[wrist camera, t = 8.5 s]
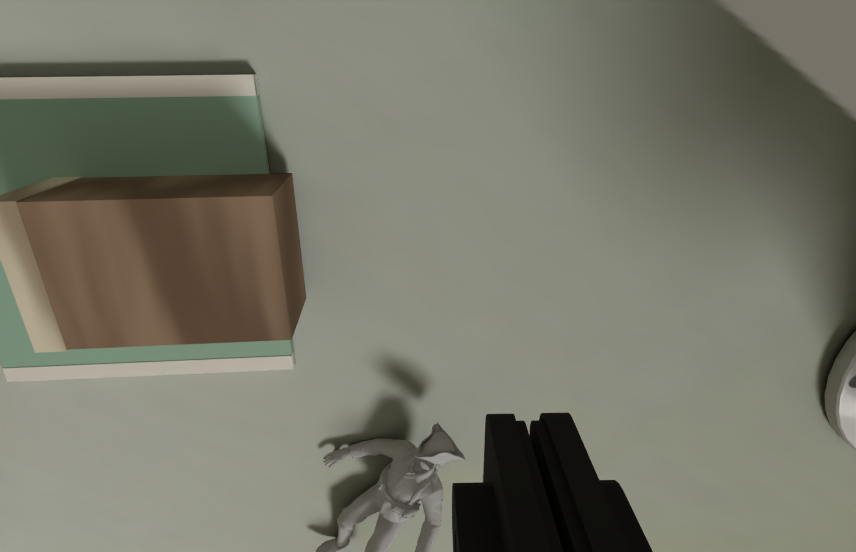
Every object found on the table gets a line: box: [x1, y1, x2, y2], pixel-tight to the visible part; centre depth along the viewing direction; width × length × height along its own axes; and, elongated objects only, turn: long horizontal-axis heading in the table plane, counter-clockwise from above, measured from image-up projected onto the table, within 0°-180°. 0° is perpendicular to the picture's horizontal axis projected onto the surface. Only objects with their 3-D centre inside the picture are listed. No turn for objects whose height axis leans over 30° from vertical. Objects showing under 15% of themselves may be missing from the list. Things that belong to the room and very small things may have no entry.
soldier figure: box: [316, 423, 465, 552], centre depth 28 cm, size 8×5×12 cm
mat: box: [0, 74, 295, 382], centre depth 23 cm, size 14×14×1 cm
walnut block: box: [0, 173, 306, 353], centre depth 21 cm, size 4×6×10 cm
